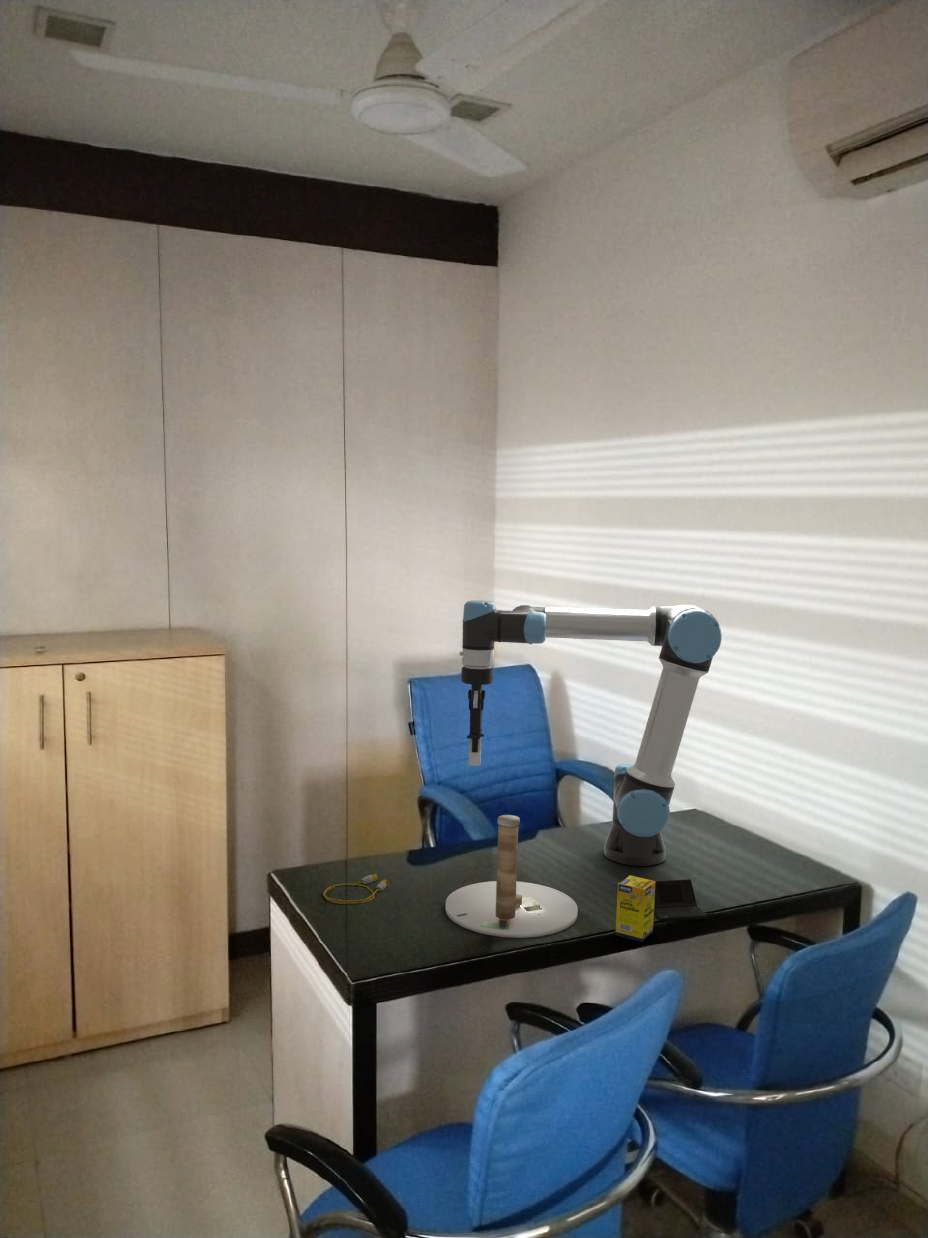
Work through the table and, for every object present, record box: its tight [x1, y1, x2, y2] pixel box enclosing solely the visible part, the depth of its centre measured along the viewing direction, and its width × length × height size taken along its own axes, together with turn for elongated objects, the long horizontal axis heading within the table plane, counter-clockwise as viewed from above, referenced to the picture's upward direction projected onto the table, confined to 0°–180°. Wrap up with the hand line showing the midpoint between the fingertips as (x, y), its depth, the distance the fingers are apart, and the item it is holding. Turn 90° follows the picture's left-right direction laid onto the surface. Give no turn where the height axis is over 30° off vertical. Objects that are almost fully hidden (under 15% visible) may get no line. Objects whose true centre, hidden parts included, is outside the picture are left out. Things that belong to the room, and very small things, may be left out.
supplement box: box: [614, 875, 656, 943], centre depth 202 cm, size 6×6×11 cm
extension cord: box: [322, 873, 390, 905], centre depth 220 cm, size 12×16×2 cm
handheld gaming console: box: [654, 878, 708, 923], centre depth 214 cm, size 12×7×10 cm
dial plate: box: [445, 880, 579, 939], centre depth 213 cm, size 28×28×1 cm
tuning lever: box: [496, 814, 522, 928], centre depth 206 cm, size 16×4×21 cm, turn 170°
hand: (474, 764), depth 238 cm, fingers closed
